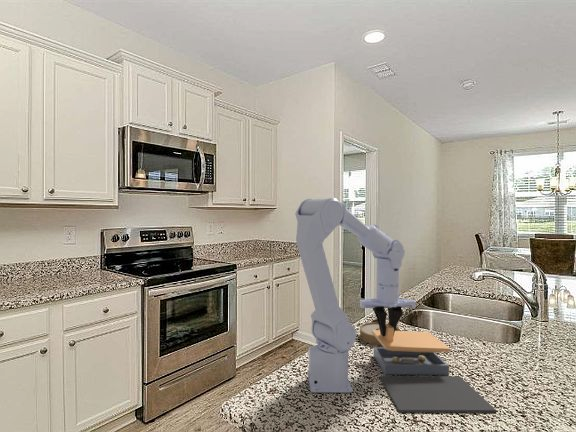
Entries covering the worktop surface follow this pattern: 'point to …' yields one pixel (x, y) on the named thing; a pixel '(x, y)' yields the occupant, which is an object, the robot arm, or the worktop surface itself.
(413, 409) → the mat
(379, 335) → the lid
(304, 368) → the worktop surface
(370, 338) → the alarm clock
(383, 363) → the blue-grey tray
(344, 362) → the robot arm
